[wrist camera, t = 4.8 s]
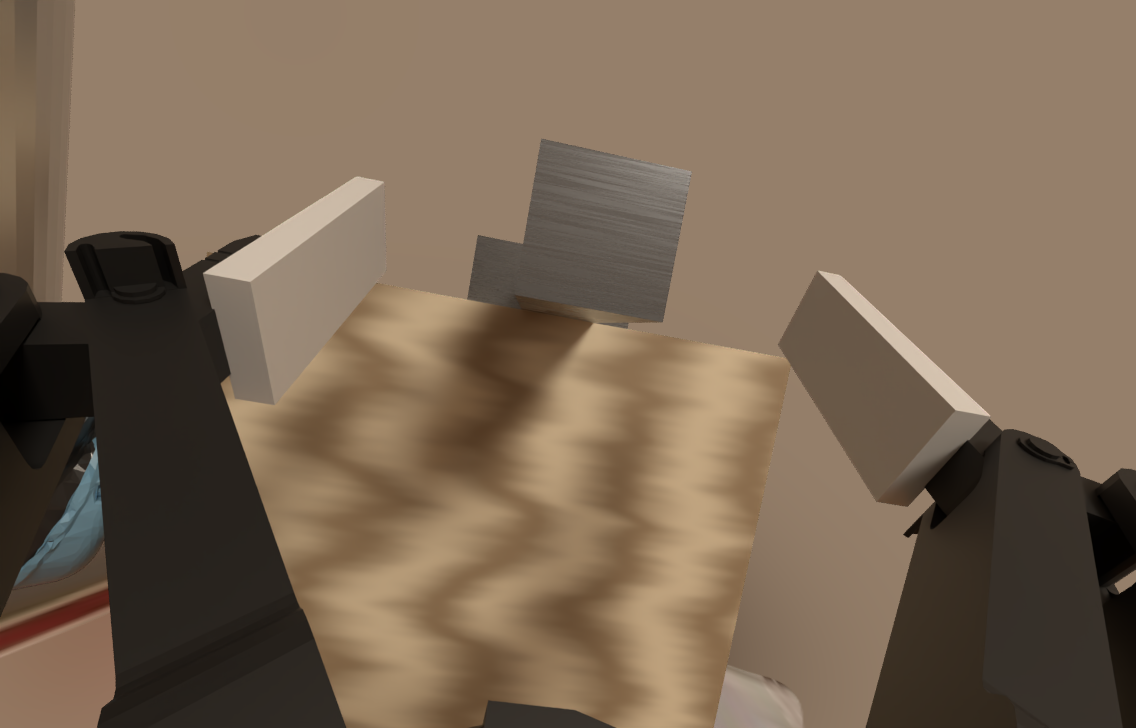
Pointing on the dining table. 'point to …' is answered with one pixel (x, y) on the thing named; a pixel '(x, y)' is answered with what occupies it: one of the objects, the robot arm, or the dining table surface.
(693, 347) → the zigzag patterned box
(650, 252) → the t handle
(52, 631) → the dining table surface
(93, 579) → the dining table surface
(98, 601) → the dining table surface
